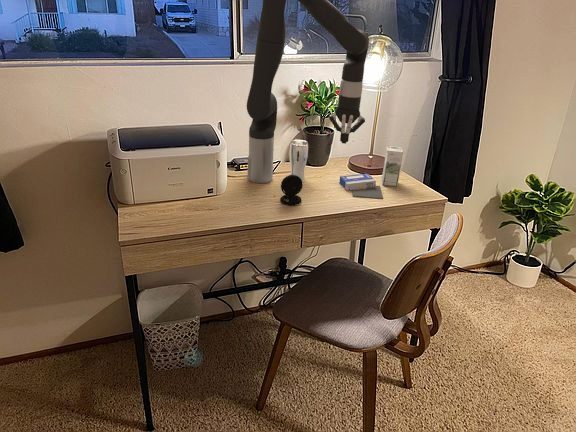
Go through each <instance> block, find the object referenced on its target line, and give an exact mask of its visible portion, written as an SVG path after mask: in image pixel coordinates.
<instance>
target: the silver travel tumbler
mask: <svg viewBox="0 0 576 432" xmlns="http://www.w3.org/2000/svg"><path fill="white" fill-rule="evenodd" d="M308 156H309V143H308V141H306V140H303V139H294V140H290V146H289V165H290V173H289V175H296V176H298V177H300V178H301V180H302V183H304V182H305V180H306V179H305V178H306V177H305V169H306V166H307V161H308V158H309V157H308Z"/></svg>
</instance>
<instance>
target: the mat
mask: <svg viewBox="0 0 576 432" xmlns="http://www.w3.org/2000/svg"><path fill="white" fill-rule="evenodd" d="M351 193H352V195H351V196H352V198H353V197H354V198H365V199H366V198H367V199H378V200H381V199H382V200H383V199H384V196H383V192H382V188H381V185H376V187H374V188H366V189H355V190H351Z"/></svg>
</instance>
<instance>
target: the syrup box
mask: <svg viewBox="0 0 576 432" xmlns="http://www.w3.org/2000/svg"><path fill="white" fill-rule="evenodd" d="M403 155H404V151H403V148H402V146H391V145H387V146H386V149H385V155H384V161H383V168H382V174H381V185H382V186H385V187H386V186H387V187H398V184H399V179H400V172H401V169H402V162H403Z"/></svg>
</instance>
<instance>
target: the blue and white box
mask: <svg viewBox="0 0 576 432" xmlns="http://www.w3.org/2000/svg"><path fill="white" fill-rule="evenodd" d="M338 183H339V184H340V185H341V186H342V187H343V188H344V189H345V190H346V191H347V192H348V191H352V190H355V189H366V188H374V187H376V186H377V184H376V183H377V180H375V178H374V177H372V176H371V175H370V174H369V173H359V174H349V175H340V176H339V182H338Z"/></svg>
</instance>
